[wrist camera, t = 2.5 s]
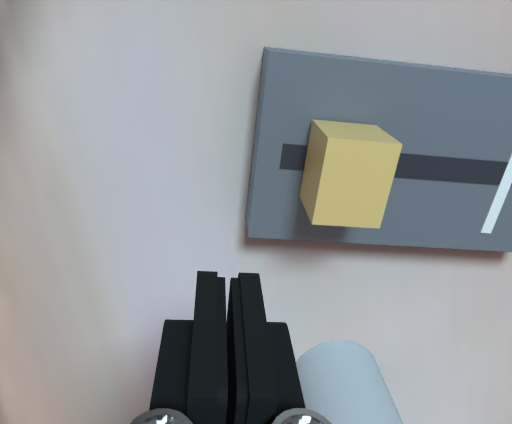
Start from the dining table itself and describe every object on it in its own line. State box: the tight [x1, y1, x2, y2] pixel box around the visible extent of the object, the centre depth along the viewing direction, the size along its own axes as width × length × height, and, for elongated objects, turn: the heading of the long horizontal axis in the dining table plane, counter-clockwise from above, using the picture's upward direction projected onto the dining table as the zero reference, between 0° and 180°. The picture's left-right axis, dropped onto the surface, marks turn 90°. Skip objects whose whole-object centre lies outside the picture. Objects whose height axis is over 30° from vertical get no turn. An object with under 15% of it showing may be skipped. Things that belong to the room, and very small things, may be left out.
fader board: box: [246, 47, 512, 252], centre depth 28 cm, size 22×12×3 cm, turn 84°
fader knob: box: [300, 119, 403, 229], centre depth 24 cm, size 4×5×4 cm
